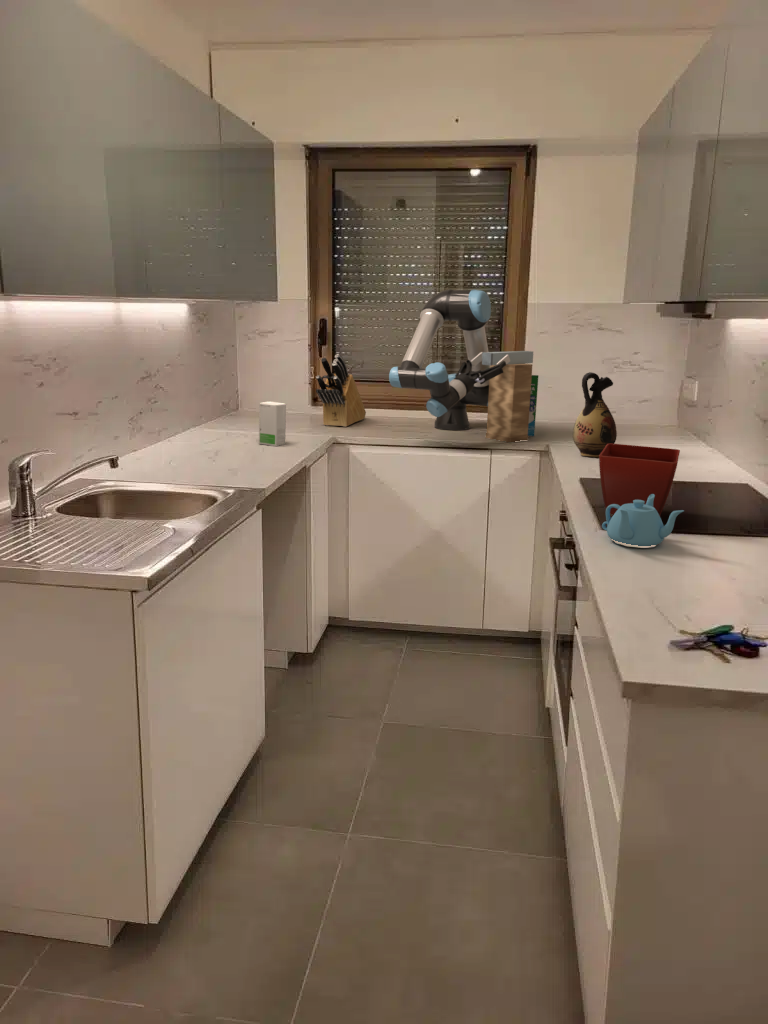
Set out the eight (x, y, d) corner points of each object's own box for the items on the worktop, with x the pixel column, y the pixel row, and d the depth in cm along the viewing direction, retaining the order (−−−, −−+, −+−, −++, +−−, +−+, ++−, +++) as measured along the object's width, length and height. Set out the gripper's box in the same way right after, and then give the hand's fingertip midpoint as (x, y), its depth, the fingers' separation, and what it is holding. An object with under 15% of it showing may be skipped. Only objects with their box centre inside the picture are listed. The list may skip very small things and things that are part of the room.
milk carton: (532, 432, 339) (536, 372, 332) (534, 436, 330) (538, 375, 324) (510, 431, 340) (514, 372, 333) (512, 435, 331) (515, 374, 324)
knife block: (313, 429, 337) (313, 354, 328) (343, 417, 369) (343, 349, 361) (338, 430, 333) (339, 355, 325) (366, 419, 366) (367, 350, 358)
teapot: (594, 533, 196) (597, 493, 193) (652, 532, 198) (657, 492, 195) (617, 552, 182) (621, 509, 179) (680, 551, 184) (685, 508, 181)
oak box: (485, 437, 324) (489, 362, 316) (503, 435, 330) (507, 361, 322) (510, 443, 314) (515, 365, 306) (528, 440, 320) (533, 364, 312)
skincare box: (258, 444, 301) (257, 402, 297) (268, 441, 306) (268, 400, 302) (276, 446, 297) (276, 404, 293) (287, 443, 303) (286, 402, 299)
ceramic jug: (597, 450, 302) (604, 370, 295) (623, 458, 289) (631, 374, 281) (559, 452, 296) (565, 370, 289) (583, 460, 283) (590, 375, 275)
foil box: (481, 364, 307) (482, 352, 306) (524, 362, 322) (524, 350, 321) (490, 365, 304) (491, 353, 303) (532, 363, 318) (533, 351, 317)
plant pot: (669, 527, 203) (677, 462, 198) (592, 518, 209) (598, 455, 205) (673, 509, 220) (680, 449, 215) (601, 501, 227) (607, 443, 222)
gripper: (440, 391, 311) (475, 362, 319) (486, 399, 292) (522, 367, 300) (433, 375, 307) (469, 345, 315) (480, 381, 288) (517, 350, 296)
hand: (495, 356), depth 307 cm, fingers open, 13 cm apart
